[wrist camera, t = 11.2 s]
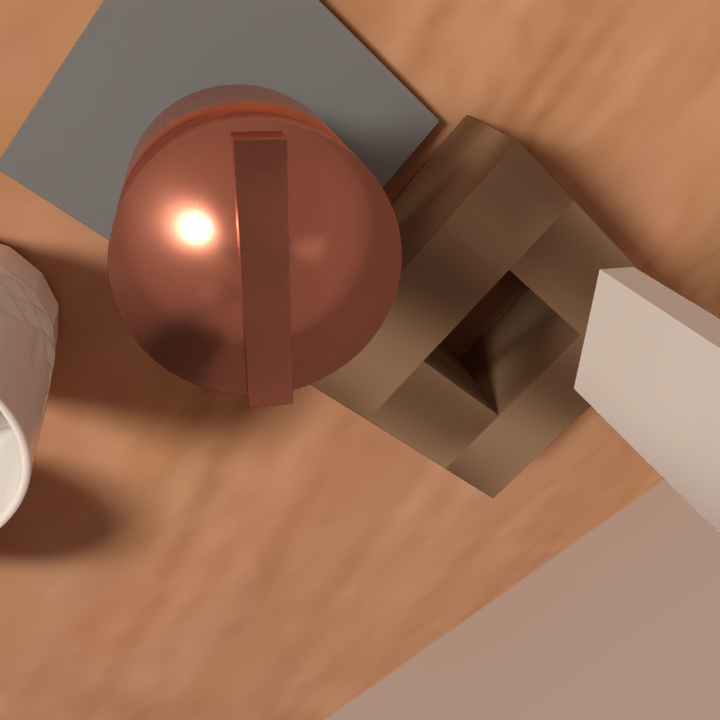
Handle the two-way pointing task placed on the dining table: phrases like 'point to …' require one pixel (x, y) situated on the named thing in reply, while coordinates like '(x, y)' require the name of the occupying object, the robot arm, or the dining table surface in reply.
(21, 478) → the white cup
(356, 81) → the mat
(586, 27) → the dining table surface
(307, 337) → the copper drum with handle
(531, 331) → the eye block
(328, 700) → the dining table surface
